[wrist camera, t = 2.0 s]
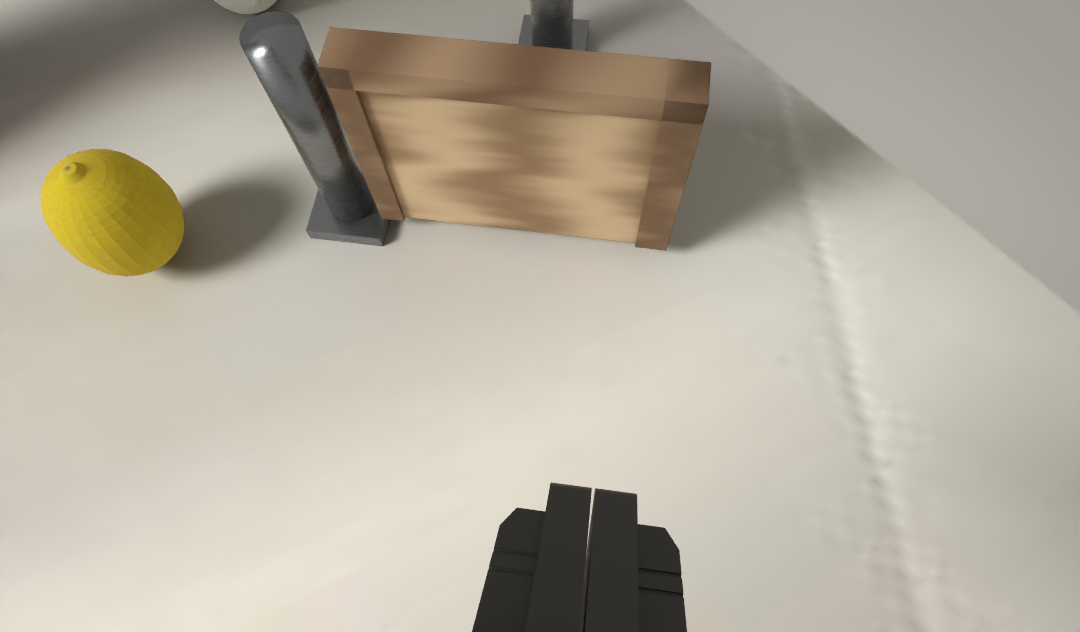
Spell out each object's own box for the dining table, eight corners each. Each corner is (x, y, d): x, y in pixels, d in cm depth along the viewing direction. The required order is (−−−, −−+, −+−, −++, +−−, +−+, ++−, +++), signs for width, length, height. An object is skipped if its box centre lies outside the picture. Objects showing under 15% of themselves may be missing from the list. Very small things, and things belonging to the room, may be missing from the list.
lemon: (187, 193, 41) (107, 98, 34) (225, 268, 39) (148, 184, 32) (92, 240, 40) (-13, 152, 33) (125, 318, 38) (22, 244, 31)
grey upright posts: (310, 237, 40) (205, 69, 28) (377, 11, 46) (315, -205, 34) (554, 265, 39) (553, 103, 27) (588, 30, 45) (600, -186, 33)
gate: (381, 218, 39) (317, 66, 28) (389, 186, 40) (330, 27, 29) (666, 250, 38) (708, 104, 27) (668, 216, 38) (711, 62, 28)
